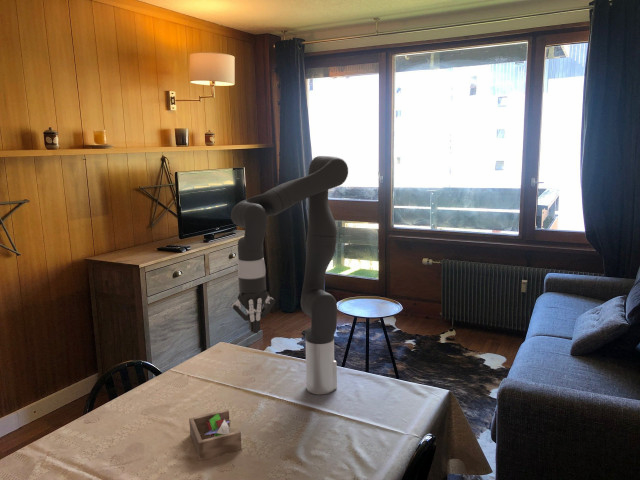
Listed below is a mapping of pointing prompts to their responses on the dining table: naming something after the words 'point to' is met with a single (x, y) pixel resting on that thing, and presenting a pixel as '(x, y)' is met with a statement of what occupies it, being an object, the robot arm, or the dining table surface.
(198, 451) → the box
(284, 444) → the dining table surface
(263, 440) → the dining table surface
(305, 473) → the dining table surface
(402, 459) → the dining table surface
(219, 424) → the geometric puzzle
